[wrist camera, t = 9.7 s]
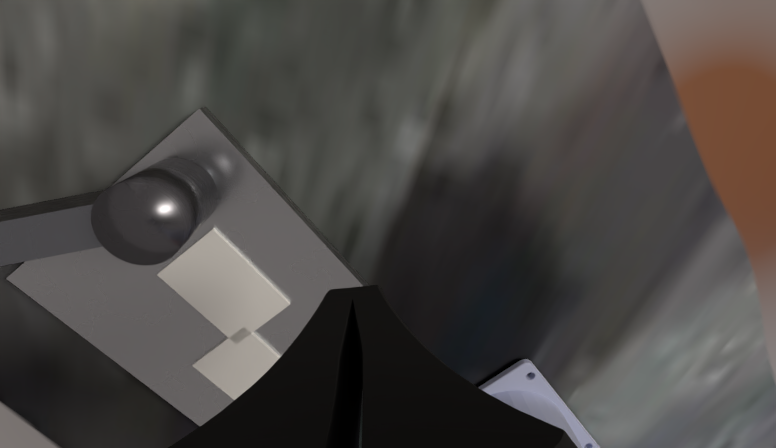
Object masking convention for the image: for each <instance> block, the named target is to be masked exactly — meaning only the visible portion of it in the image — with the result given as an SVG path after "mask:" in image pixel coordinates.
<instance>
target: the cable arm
mask: <svg viewBox="0 0 776 448" xmlns="http://www.w3.org/2000/svg"><path fill="white" fill-rule="evenodd" d="M217 201H218V192H217V187H216V184H215V182H214V180H213V178H212V177H211V175H210V174H209V173H208V172H207V171H206V170H205V169H204V168H203V167H202V166H200V165H199V164H197V163H195V162H193V161H191V160H188V159H184V158H167V159H164V160H161V161H159V162H157V163H155V164H153V165H151V166H149V167H148V168H146V169H144V170H142V171H140V172H138V173H136V174H134V175H132V176H130V177H128V178H126V179H124V180H123V181H121V182H119V183H117V184H115V185H113V186H111V187H109V188H107V189H106V190H102V191H97V192H91V193H86V194H81V195H75V196H70V197H65V198H60V199H54V200H49V201H44V202H39V203H33V204H28V205H23V206H17V207H12V208H7V209H2V210H0V266H4V265H9V264H14V263H20V262H25V261H30V260H35V259H41V258H46V257H51V256H56V255H62V254H67V253H72V252H77V251H83V250H88V249H93V248H98V247H104V248H105V249H106V250H107V251H108V252H109V253H111V254H112V255H113V256H115V257H117V258H118V259H120V260H123V261H125V262H128V263H131V264H135V265H143V266H144V265H155V264H159V263H162V262H165V261H167V260H168V259H170V258H171V257H173V256H174V255H175V254H176V253H177V252H178V251H179V249H180V248H181V247H182V246H183V245H184V244H185V243H186V242H187V241H188V240H189V239H190V238H191V236H192V235H193V234H194V233H195V232H196V231H197V230H198V229H199V228H200V227H201V226H202V224H203V223H204V222H205V221H206V220H207V219H208V218H209V217H210V216H211V215H212V213H213V212H214V210H215V208H216V205H217Z"/></svg>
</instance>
